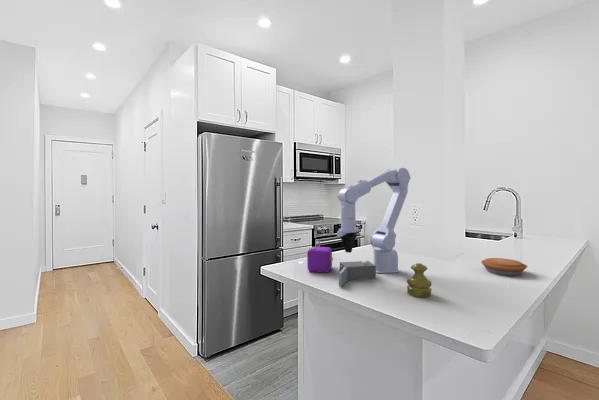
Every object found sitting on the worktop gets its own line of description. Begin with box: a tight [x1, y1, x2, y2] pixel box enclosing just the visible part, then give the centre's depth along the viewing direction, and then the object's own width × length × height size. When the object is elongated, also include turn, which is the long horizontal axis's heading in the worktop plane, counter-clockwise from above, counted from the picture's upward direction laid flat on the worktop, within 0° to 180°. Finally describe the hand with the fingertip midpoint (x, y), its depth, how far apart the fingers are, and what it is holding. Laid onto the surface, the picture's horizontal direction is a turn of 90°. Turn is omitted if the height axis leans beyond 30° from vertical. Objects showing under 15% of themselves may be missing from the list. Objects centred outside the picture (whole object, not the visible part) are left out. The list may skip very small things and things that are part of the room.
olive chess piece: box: [406, 262, 433, 299], centre depth 97 cm, size 7×7×10 cm
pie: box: [480, 257, 528, 277], centre depth 122 cm, size 16×16×5 cm
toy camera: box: [306, 246, 334, 273], centre depth 130 cm, size 11×14×10 cm
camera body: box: [338, 260, 377, 281], centre depth 118 cm, size 13×8×6 cm, turn 98°
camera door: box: [338, 267, 348, 287], centre depth 109 cm, size 9×1×5 cm, turn 159°
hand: (348, 252), depth 120 cm, fingers closed
